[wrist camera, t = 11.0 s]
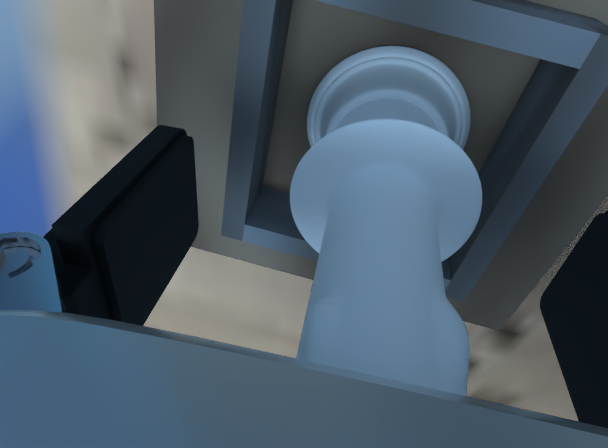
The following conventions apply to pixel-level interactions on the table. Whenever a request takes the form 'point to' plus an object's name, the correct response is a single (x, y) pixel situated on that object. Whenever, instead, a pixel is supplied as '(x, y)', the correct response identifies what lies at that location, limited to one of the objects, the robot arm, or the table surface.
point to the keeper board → (479, 148)
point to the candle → (387, 217)
